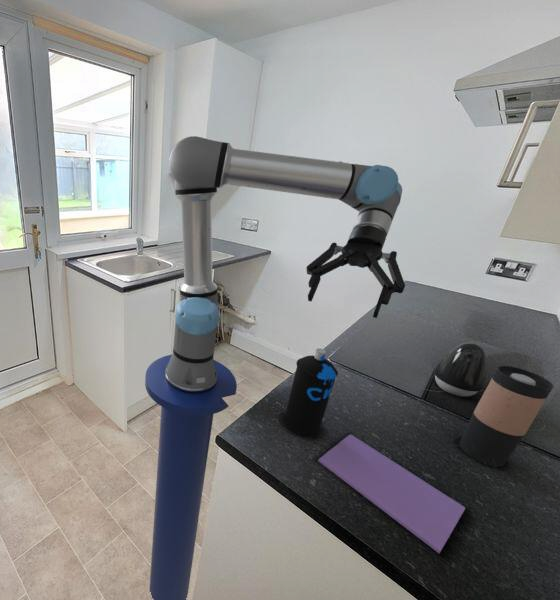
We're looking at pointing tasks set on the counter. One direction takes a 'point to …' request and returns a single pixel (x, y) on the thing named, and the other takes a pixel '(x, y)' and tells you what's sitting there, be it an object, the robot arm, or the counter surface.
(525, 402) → the travel mug
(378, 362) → the counter surface
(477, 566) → the counter surface
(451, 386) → the black egg-shaped dome
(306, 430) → the aerosol can
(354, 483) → the towel
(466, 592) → the counter surface
